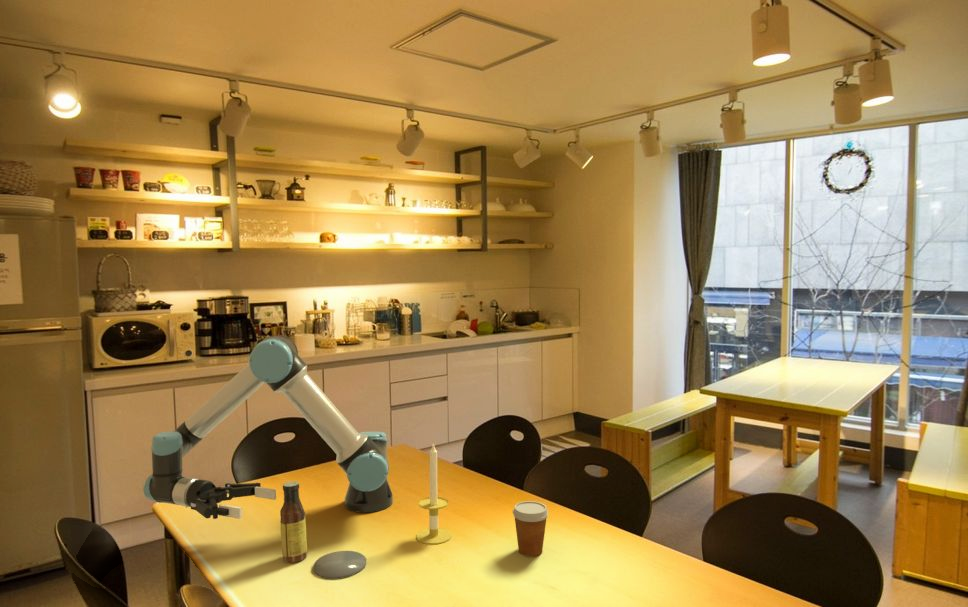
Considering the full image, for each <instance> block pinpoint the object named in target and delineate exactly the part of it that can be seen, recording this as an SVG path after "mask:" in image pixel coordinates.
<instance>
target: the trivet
mask: <svg viewBox="0 0 968 607" xmlns="http://www.w3.org/2000/svg"><path fill="white" fill-rule="evenodd" d="M366 565H367V557H366V556H365V555H363V553H361V552H358V551H353V550H337V551H333V552H329V553H326V554H324V555H322V556H320V557H319V558H317V559H316V560H315V562H314V563H313V572H314V573H315V575H317V576H318V577H320V578H324V579H330V580H331V579H332V580H333V579H334V580H336V579H337V580H338V579H344V578H349V577H353V576H355V575H357V574H359V573H360V572H362V571H363V570H365V568H366Z"/></svg>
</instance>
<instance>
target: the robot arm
mask: <svg viewBox="0 0 968 607" xmlns="http://www.w3.org/2000/svg"><path fill="white" fill-rule="evenodd" d="M265 383H266V384H267V385H268V387H269V388H270V389H271V390H272V391H273V392H274V393H278V394H279V393H280V394H283V395H284V396H285V397H286V398H287V400H288V401H289V402H290V403H291V404H292V405H293V406H294V407H295V409H296V411H298V412H299V413H300V414H301V415H302V417H303V418H304V419H305V420H306V421H307V422H308V424H309V425H310V426H311V427H312V428H313V429H314V430H315V431H316V433H317V434H318V435H319V436H320V437H321V439H322V440H323V441H325V443H326V445H328V446H329V448H331V449H332V451H333V452H334V453H335V454H336V460H335V462H336V464H337V465H338V466H339V467H340V468H341V469H342V470H343V472H344V473H345V474H346V476H347V481H348V482H349V484H348V487H347V491H346V493H345V496H344V506H345V508H346V509H347V510H349V511H351V512H356V513H374V512H379V511H382V510H385V509H387V508H389V507H390V506H392V504H393V502H394V501H393V499H394V498H393V497H394V496H393V492H392V490H391V486H390V484H389V481H388V475H389V470H390V468H389V467H390V465H389V462H388V461H389V460H388V451H387V444H388V443H387V442H388V439H387V434H386V433H385V432H383V431H373V430H372V431H361V432H358V431H357V429H356V428H355V427H354V426H353V425H352V423H350V422H349V420H348V419H347V418H346V417H345V416H344V414H343V413H342V412H341V411H340V410H339V409H338V408H337V407H336V405H335V404H334V403H333V402H332V400H331V399H329V397H328V396H327V395H326V393H325V392H324V391H323V390H322V389H321V388H320V387H319V386H318V385H317V383H316V382H315V381H314V380H313V379H312V378H311V376H310V375H309V374H308V364H306V362H304V360H303V359H302V358H301V356H299V349H298V347H297V345H296V343H295V342H294V341H293V340H292V339H291V338H290V337H288V336H286V335H281V334H274V335H270V336H269V337H267V338H265V339H263V340H261V341H260V342H258V343H257V344H256V346H253V349H252V351H251V353H250V356H249V359H248V364H246V365H245V367H243V368H242V369H241V370H240V371H239V372H237V373H236V374H235V375H234V376H233V377H232V378H231V379H230V380H229V381H228V382H227V383H226V384H224V385H223V387H221V388H220V389H219V390H218V391H217V392H216V393H214V394H213V395H212V396H211V397H210V398H209V399H208V400H207V401H205V402H204V403H203V404H202V405H201V406H200V407H199V408H198V409H196V410H195V411H194V412H193V413H192V414H191V415H190V416H189V417H187V419H186V420H185V421H184V422H183V421H182V423H181V424H180V425H179V426H178V427H176V428H175V429H174V430H172V431H164V432H163V431H162V432H160V433H156V434H155V435H153V437H152V438H151V442H152V443H151V447H150V449H151V461H152V462H151V463H152V464H151V465H152V474H150V475H149V476H148V477H147V478H146V480H145V483H144V485H143V488H142V492H143V495H144V496H145V497H146V499H148V500H150V501H154V502H156V503H162V504H163V503H165V504H171V505H177V506H182V507H185V508H190V509H191V510H193V511H196V512H197V513H198V514H200V515H201V516H202V517H203V518H204V519H211V516H212V519H213V520H216V519H217V520H218V518H219V516H221V517H226V518H233V519H239V520H240V519H242V518H243V513H242V510H243V508H242V507H241V506H235V505H229V504H225V503H224V504H222V502H224V501H232V499H235V498H242V497H244V498H245V497H251V496H252V497H253V496H254V497H255V498H261V499H266V500H272V501H275V500H277V489H275V488H269V487H264V486H263V487H262V486H261V485H262V484H261V482H250V483H249V482H247V483H246V482H245V483H225V484H224V486H223V487H222V486H216V485H215V484H214V483H213V482H212V481H211V480H207V479H201V478H200V479H199V478H193V477H187V476H183V458H184V457H185V456H186V455H187V454H188V453H189V452H190V451H191V450H192V449H193V448H195V447H196V446H197V444H199V443H200V442H201V441H203V439H204V438H206V436H208V434H210V432H212V431H213V430H214V429H215V428H216V427H217V426H218V425H220V423H222V422H223V421H224V420H225V419H227V418H228V416H229V415H231V414H233V412H234V411H235V410H237V409H238V407H239V406H240V405H241V404H243V403H244V402H245V401H247V400H248V399H249V397H251V396H252V395H253V394H255V393H256V392H257V390H259V389H260V388H261V387H262V386H263V385H264V384H265ZM218 504H219V505H218Z"/></svg>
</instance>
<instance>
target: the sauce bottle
mask: <svg viewBox="0 0 968 607" xmlns="http://www.w3.org/2000/svg"><path fill="white" fill-rule="evenodd" d="M282 490H283V505H282V507H281V509H280V521H279V522H280V535H281V536H280V538H281V539H280V540H281V541H280V542H281V555H282V560H283V561H284V562H286V563H289V564H291V563H299V562H301V561H303V560H305V559H306V558H307V555H308V553H307V552H308V543H307V526H306V523H307V522H306V512H305V509H304V506H303V504H302V502H301V499H300V492H299V491H300V483H299V482H298V481H295V480H293V481H287V482H285V483H283V484H282Z"/></svg>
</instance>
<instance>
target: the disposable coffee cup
mask: <svg viewBox="0 0 968 607" xmlns="http://www.w3.org/2000/svg"><path fill="white" fill-rule="evenodd" d="M549 513H550V512H549V510H548V508H547V505H546V504H544V503H542V502H539V501H533V500H527V501H525V500H523V501H520V502H518V503H516V504H515V505H514V508H513V510H512V514H513V517H514V521H515V522H514V523H515V531H516V532H515V533H516V539H517V547H518V548H517V549H518V552H519V554H520V555H522V556H525V557H538V556H540V555H541V554H542V553H543V548H544V540H545V534H546V532H545V531H546V526H547V518H548V516H549Z"/></svg>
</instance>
